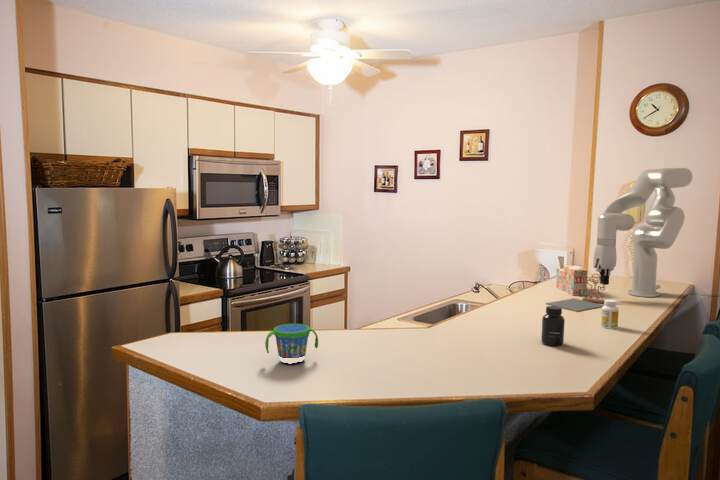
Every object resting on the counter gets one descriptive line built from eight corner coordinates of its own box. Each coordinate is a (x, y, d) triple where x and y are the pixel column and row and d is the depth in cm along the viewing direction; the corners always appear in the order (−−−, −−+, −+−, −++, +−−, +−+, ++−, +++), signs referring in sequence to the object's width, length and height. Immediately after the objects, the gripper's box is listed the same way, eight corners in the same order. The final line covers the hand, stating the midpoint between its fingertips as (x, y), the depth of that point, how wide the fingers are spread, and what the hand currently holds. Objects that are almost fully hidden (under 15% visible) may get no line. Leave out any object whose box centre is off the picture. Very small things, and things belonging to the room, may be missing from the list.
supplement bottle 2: (617, 326, 194) (618, 299, 193) (617, 329, 189) (619, 302, 188) (601, 324, 196) (602, 298, 195) (601, 328, 191) (602, 301, 190)
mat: (573, 299, 238) (574, 298, 238) (605, 306, 224) (606, 305, 224) (545, 304, 229) (545, 303, 229) (577, 311, 215) (577, 310, 215)
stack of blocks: (555, 287, 266) (556, 262, 265) (568, 286, 266) (569, 262, 265) (573, 296, 245) (574, 269, 243) (586, 296, 245) (587, 269, 243)
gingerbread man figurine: (606, 302, 231) (608, 274, 231) (603, 303, 228) (605, 275, 228) (584, 299, 237) (587, 272, 237) (582, 300, 234) (584, 272, 234)
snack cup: (315, 353, 166) (315, 321, 165) (321, 365, 156) (320, 330, 154) (264, 357, 162) (263, 325, 161) (266, 369, 152) (265, 334, 151)
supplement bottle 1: (553, 348, 169) (554, 310, 168) (536, 342, 176) (537, 306, 174) (568, 344, 173) (569, 308, 171) (551, 339, 179) (553, 304, 177)
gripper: (609, 240, 240) (607, 281, 242) (587, 242, 233) (585, 284, 235) (625, 242, 233) (623, 283, 235) (602, 244, 226) (600, 287, 228)
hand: (604, 284), depth 235 cm, fingers closed
